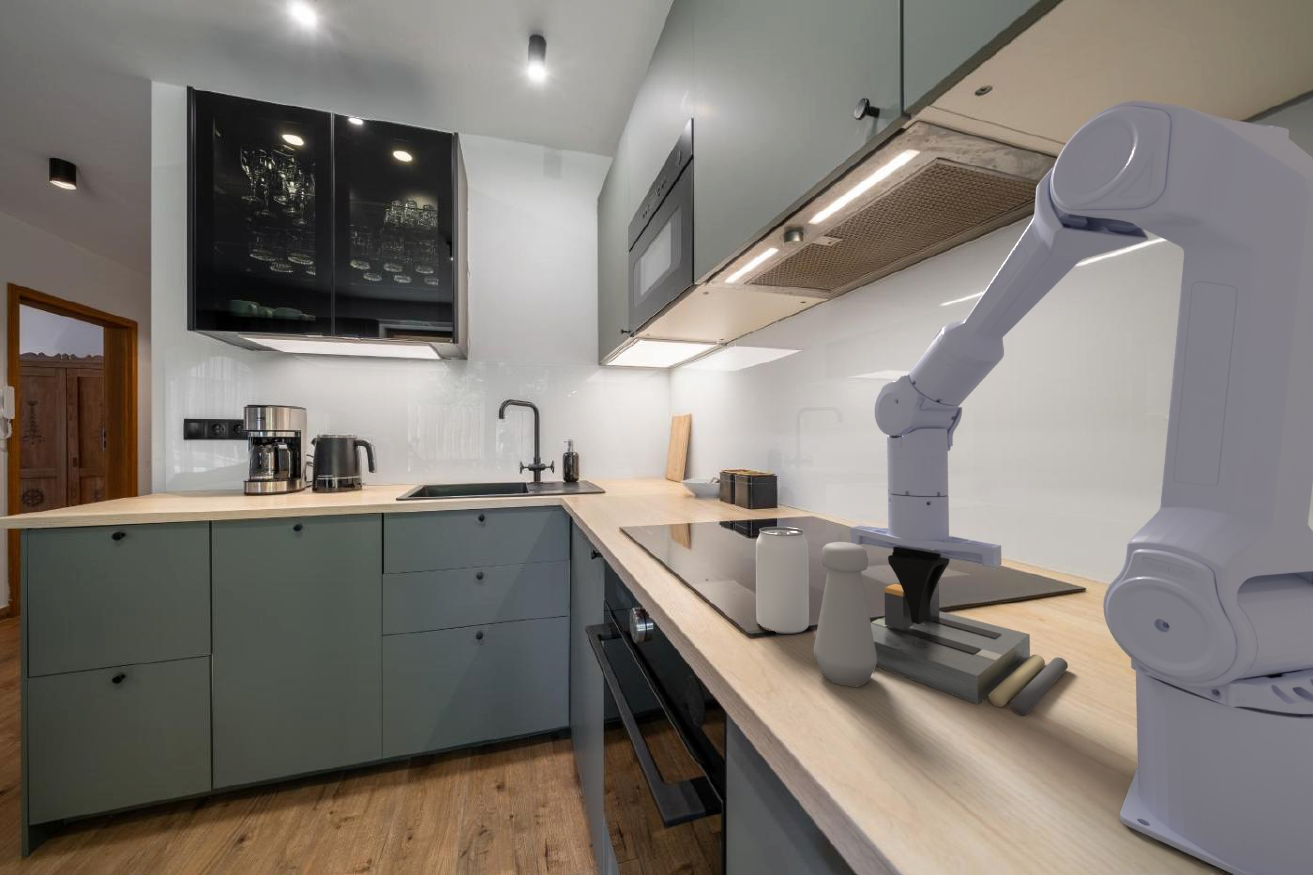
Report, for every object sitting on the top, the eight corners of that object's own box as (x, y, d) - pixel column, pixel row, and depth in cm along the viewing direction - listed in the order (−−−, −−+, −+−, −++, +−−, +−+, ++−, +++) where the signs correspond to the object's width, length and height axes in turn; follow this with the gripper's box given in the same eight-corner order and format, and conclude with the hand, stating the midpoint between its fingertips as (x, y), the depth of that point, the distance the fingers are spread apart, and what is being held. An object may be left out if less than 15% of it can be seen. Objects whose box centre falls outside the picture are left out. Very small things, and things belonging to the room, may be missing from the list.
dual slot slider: (1030, 657, 50) (1028, 596, 50) (977, 704, 41) (976, 629, 41) (913, 624, 60) (912, 572, 60) (849, 656, 50) (849, 595, 51)
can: (819, 632, 57) (818, 533, 57) (771, 637, 55) (770, 536, 56) (791, 614, 63) (791, 525, 64) (747, 618, 62) (747, 527, 62)
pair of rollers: (1069, 670, 47) (1069, 658, 47) (1028, 717, 39) (1027, 703, 39) (1034, 660, 49) (1034, 648, 50) (988, 703, 41) (988, 689, 41)
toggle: (913, 625, 52) (913, 587, 52) (903, 630, 50) (902, 592, 50) (895, 619, 53) (894, 583, 53) (884, 624, 52) (884, 587, 52)
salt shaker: (838, 695, 43) (836, 552, 43) (802, 666, 48) (801, 540, 48) (891, 686, 44) (889, 548, 44) (850, 659, 50) (849, 537, 50)
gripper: (1010, 497, 47) (1013, 633, 47) (871, 487, 59) (872, 596, 58) (985, 502, 43) (988, 652, 43) (839, 491, 54) (841, 608, 54)
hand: (919, 621), depth 50 cm, fingers closed
